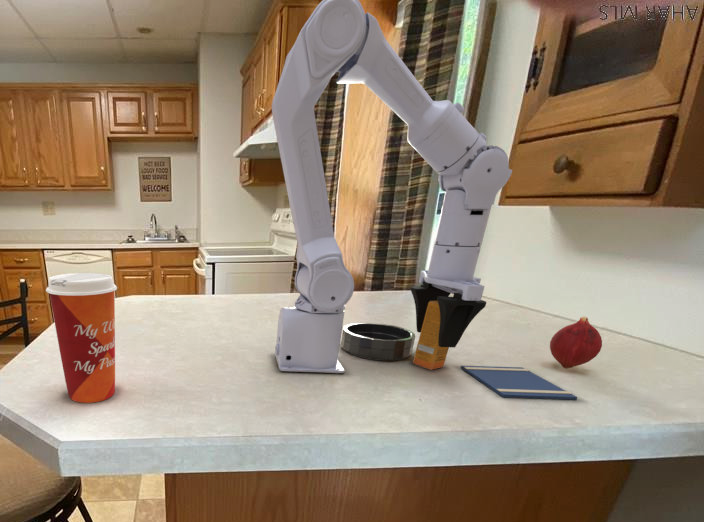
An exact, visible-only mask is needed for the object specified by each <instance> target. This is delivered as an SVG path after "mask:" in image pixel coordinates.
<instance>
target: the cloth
mask: <svg viewBox="0 0 704 522" xmlns="http://www.w3.org/2000/svg"><path fill="white" fill-rule="evenodd" d="M460 369H462V370H463V371H464V372H466V373H467V374H469V375H470V376H472V377H473V378H474V379H475V380H477V381H479V382H480V383H482V384H483V385H485V386H486V387H487V388H489V389H490V390H492V391H493V392H494V393H496V394H497V395H499V396H501V397H502V398H511V399H512V398H513V399H515V398H516V399H539V400H540V399H542V400H546V399H547V400H568V401H570V400H572V401H576V400H577V399H578V397H577V396H576V395H574V394H573V393H572V392H570V391H569V390H567V391H566V390H565V389H563V388H561V387H559V386H557V385H556V384H554V383H552V382H551V381H549V380H546V379H545V378H543V377H541V376H539V375H537V374H535V373H534V372H532V371H531V370H530V369H529V368H524V367H523V366H522V367H517V366H487V365H486V366H485V365H460Z"/></svg>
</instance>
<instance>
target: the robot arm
mask: <svg viewBox="0 0 704 522" xmlns="http://www.w3.org/2000/svg"><path fill="white" fill-rule="evenodd" d="M336 73H339V74H338V77H337V79H336V81H335V83H336V84H339V85H340V84H344V85H345V84H363V85H365V86H366V88H368V89H369V90H370V91H371V92H372V93H373V94H374V95H375V96H377V97H378V99H380V100H381V102H383V104H385V105H386V106H387V107H388V108H390V109H391V111H393V113H394V114H395V115H397V116H398V118H400V119H401V120H402V121H403V122H404V123H405V124H406V125H407V137H406V138H407V143H408V144H409V145H410V147H412V148H413V149H414V151H416V152H417V153H418V154H419V155H420V156H421V158H422V159H423V160H424V161H425V162H426V163H427V164H428V165H429V166H430V167H431V168H432V170H434V172H436V174H437V175H438V184H439V188H440V190H441V191H442V192H444V196H443V201H442V206H441V211H440V216H439V218H438V224H437V228H436V234H435V238H434V243H433V247H432V252H431V257H430V261H429V265H428V270H425V269H424V270H420V274H419V279H418V283H419V284H420V285H416V286H415V285H414V286H411V287H410V292H411V295H412V298H413V302H414V307H415V324H416V332H417V333H418V334H419V333H421V329H422V326H423V322H424V318H425V314H426V310H427V307H428V303H429V302H430V301H438V304H439V309H440V329H439V337H438V343H439V346H440V347H449V348H456V346H457V345H458V343H459V341H460V340H461V339H462V337H463V335H464V333H465V331H466V330H467V329H468V327H469V325H470V324H471V323H472V322H473V320H474V318H475V317H477V315H478V314H479V313H480V312H481V311H482V310H484V309H485V308H486V306H487V301H486V300H483V295H484V294H483V293H484V291H485V290H484V289H485V288H486V287H485V285H483V284H481V281H482V278H481V277H477V276H475V272H476V268H477V263H478V260H479V256H480V252H481V249H482V244H483V241H484V237H485V234H486V230H487V225H488V222H489V218H490V214H491V210H492V207H493V206H492V205H494V204H495V201H496V197H497V194H498V193H499V192H500V190H502V189H503V188H504V187H505V186H506V184H508V181H509V180H510V178H511V176H512V173H513V169H511V168H510V161H509V157H508V154H507V152H506V151H505V150H504V149H503V148H502V147H499V145H498V146H497V145H492V144H490V145H487V140H488V137H487V135H485V133H484V132H480V133H479V132H478V130H476V128H475V127H474V126H473V125H472V124H471V123H470V122H469V121H468V120H467V118H466V116H464V115H463V114H462V113H463V112H464V111H465V107H464V106H463V105H462V104H461V103H460V102H459V101H458V102H455V103H453V102H452V101H451V100H449V99H444V100H433V99H432V98H431V96H430V95H429V93H428V92H427V91H426V90H425V88H424V87H423V85H422V84H421V83H420V82H419V81H418V78H416V77H415V76H414V74H413V73H412V72H411V70H410V69H409V68H408V66H407V65H406V64H405V63H404V61H403V60H402V58H401V57H400V56H399V55H398V53H397V52H396V50H395V49H394V48H393V47H392V46H391V44H390V43H389V42H388V40H387V39H386V37H385V35H384V32H383V30H382V28H381V25H380V23H379V21H378V20H377V18H376V17H375V16H374V15H372V14H371V13H370V12H369V11H367V12H365V9H364V7H363V5H362V3H361V2H360V1H359V0H321V1H320V2H319V4H318V5H317V6H316V7H315V9H314V10H313V11H312V13H311V14H310V16H309V17H308V19H307V20H306V22H305V23H304V24H303V26H302V28H301V30H300V32H299V33H298V35H297V37H296V40H295V42H294V44H293V45H292V47H291V48H290V50H289V51H288V53H287V55H286V57H285V60H284V65H283V68H282V71H281V74H280V77H279V81H278V84H277V86H276V90H275V93H274V96H273V97H272V98H273V99H272V102H271V115H272V120H273V125H274V130H275V136H276V141H277V146H278V152H279V157H280V162H281V167H282V172H283V177H284V182H285V186H286V192H287V197H288V202H289V209H290V213H291V218H292V223H293V227H294V228H293V230H294V233H295V239H296V244H297V246H296V253H295V258H296V264H297V266H296V272H295V275H294V285H295V290H296V291H297V292H298V294H299V296H298V298H297V299H296V301H295V302H294V306H290V307H281V308H280V310H279V314H278V320H277V329H276V330H277V333H276V342H275V351H274V356H275V357H274V358H275V359H276V364H277V366H278V370H279V371H281V372H295V373H296V372H300V373H328V374H329V373H331V374H344V373H345V371H346V370H345V367H344V366H343V365H342V364H341V362H340V361H339V353H340V347H341V341H342V334H343V327H344V326H343V325H344V320H345V319H344V318H345V312H346V305H347V304H348V303H349V301H351V299H352V297H353V293H354V291H355V280H354V277H353V275H352V273H351V272H350V271H349V270H348V268H347V267H346V265H345V263H344V257H343V254H342V251H341V249H340V246H339V244H338V242H337V240H336V238H335V233H334V227H333V221H332V214H331V209H330V207H331V206H330V202H329V201H330V200H329V196H328V189H327V183H326V178H325V171H324V170H325V169H324V164H323V159H322V152H321V146H320V139H319V132H318V126H317V120H316V115H315V106H316V104H317V102H318V101H319V100H320V98H321V96H322V94H323V93H324V92H325V89H326V88H327V86H328V84H329V83H330V81H331V79H332V77H333V76H334V75H335V74H336ZM451 294H452V295H453V296H450V295H451Z"/></svg>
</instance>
